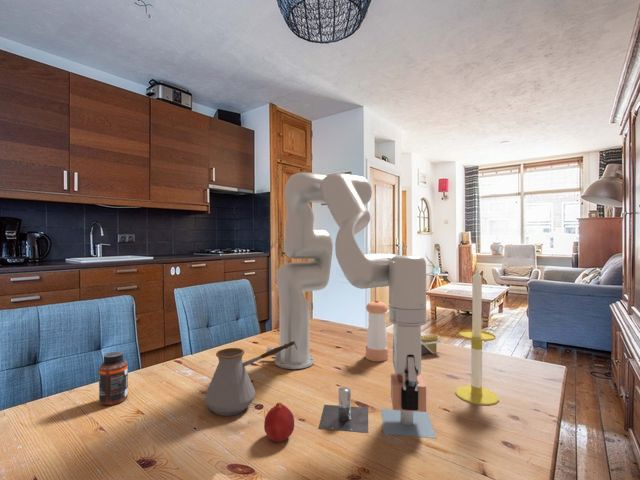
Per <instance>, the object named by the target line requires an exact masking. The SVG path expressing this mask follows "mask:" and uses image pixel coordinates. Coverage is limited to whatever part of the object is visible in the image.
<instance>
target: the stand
mask: <svg viewBox="0 0 640 480" xmlns="http://www.w3.org/2000/svg"><path fill="white" fill-rule="evenodd" d="M351 394H352V389H351V388H350V387H346V386H342V387H339V388H338V405H333V404H332V405H331V404H323V409H322V413H321V416H320V420H319V425H318V428H317V429H318V430H328V431H339V432H349V433H350V432H352V433H365V434H369V407H364V406H352V401H351V399H352V396H351Z"/></svg>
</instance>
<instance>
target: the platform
mask: <svg viewBox="0 0 640 480" xmlns="http://www.w3.org/2000/svg"><path fill="white" fill-rule="evenodd" d="M440 343H442V341H441V339H440V338H439V337H438V335H437V334H426V335H421V355H424V353H425V354H433V355H436V353H437V344H440Z"/></svg>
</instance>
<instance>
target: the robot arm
mask: <svg viewBox="0 0 640 480" xmlns="http://www.w3.org/2000/svg"><path fill="white" fill-rule="evenodd" d="M372 191H373V190H372V186H371V184H370V182H369V181H368V180H367V178H365V177H364V176H361V175H355V174H348V173H342V172H335V173H330V174H322V173H314V172H297V173H294V174H292V175H291V176H290V177H289V178H288V179H287V182H286V184H285V189H284V202H285V207H286V208H285V209H286V219H285V220H286V221H285V230H284V231H285V233H284V240H283V241H284V243H283V249H284V250H283V251H284V254H285V255H286V256H287V257H288V258H290V259H295V260H297V259H298V260H304V259H305V260H306V259H310V261H297V262H296V261H295V262H286V263H285V264H282V265H280V266H279V267H278V269H277V271H276V275H275V279H276V280H275V281H276V284H277V290H278V291H277V292H278V299H279V305H278V306H279V320H278V321H279V325H278V326H279V330H278V331H279V333H278V335H279V336H278V337H279V346H278V347H280V346H284V344H288V343H290V342H293V341H295V343H296V346H297V349H296V348H295V345H292V346H289V347H288V348H287V349H283V350H281V351H280V352H278V353H276V354H273V355H271V356H274V357H275V358H274V364H275V366H277V367H279V368H282V369H286V370H287V369H288V370H300V369H306V368H308V367H312V366H313V364H314V363H315V357H314V355H313V354H310V325H311V324H310V322H311V321H310V320H311V318H310V304H309V302H308V300H307V298H306V297H305V295H304V293H306V292H312V291H313V292H314V291H315V292H316V291H322V290H324V289H325V288H326V287H327V286H328V284H329V281H330V276H331V268H332V259H333V250H335V251H334V252H335V257H336V260H337V263H338V265H339V266H340V269H341V271H342V272H343V275H344V277H345V278H346V280H347V281H348V283H349V284H351V286H354V288H357V289H361V290H362V289H374V288H382V287H383V288H384V287H388V321H389V323H391V324H393V329H392V330H393V331H392V364H393V368H394V369H393V370H394V373H396V374H397V375H399V374H402V380H403V388H401V407H402V409H403V410H416V411H417V410H418V386H417V376H419V375H420V374H421V373H422V354H421V337H422V326H425V325H426V324H427V262H426V259H425V257H422V256H419V255H399V254H394V253H388V252H387V253H386V252H385V253H363V251H362V249H361V248H360V246H359V244H358V242H357V240H356V237H355V235H356V234H358V233H360V232H361V231H362V230H364V229H365V228H366V227H367V226H368V224H369V223H370V221H371V214H370V211H369V210H368V208H367V206H366V205H368V203H369V202H370V200H371V199H372V193H373V192H372ZM310 203H314V204H315V203H316V204H326V206H327V208H328V210H329V211H330V214H331V216H332V218H333V219H334V221H335V222H334V223H335V224H336V226H337V227H338V231H337V234H336V238H335V243H334V244H333V239H332V236H331V234H330V233H329V232H328V231H327V230H325V229H322V228H320V229H319V228H314V223H315V216H314V211H313V209H312V207H311V205H310ZM334 245H335V247H334ZM333 248H335V249H333ZM274 348H275V347H267V348H266V352H268V351H270V350H272V349H274ZM271 356H270V357H271ZM421 375H422V374H421ZM406 377H408V380H406Z"/></svg>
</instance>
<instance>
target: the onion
mask: <svg viewBox="0 0 640 480" xmlns="http://www.w3.org/2000/svg"><path fill="white" fill-rule="evenodd" d="M263 426H264V427H263V428H264V429H263V430H264V433H265V434H266V436H267V437H268V438H269V439H270V440H272V441H274V442H275V443H281V442H282V443H283V442H284V441H286V440H287V439H288V438H290V436H291V435H292V434H293V432H294V428H295V417H294V415H293V412H292V411H291V409H289V408H288V407H287V406H286V405H285V404H283V403H282V401H278V402H277V403H275V405H274V406H273V407H272V408H270V409H269V410H268V412H267V413H266V415H265V417H264V423H263Z"/></svg>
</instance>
